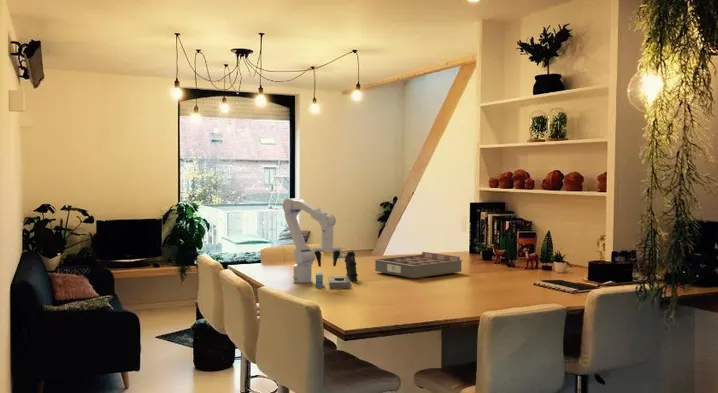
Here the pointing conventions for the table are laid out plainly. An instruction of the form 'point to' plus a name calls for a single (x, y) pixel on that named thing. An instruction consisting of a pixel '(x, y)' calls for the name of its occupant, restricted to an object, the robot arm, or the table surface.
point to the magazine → (351, 266)
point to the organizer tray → (419, 265)
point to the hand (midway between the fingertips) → (327, 266)
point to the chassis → (339, 282)
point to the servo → (319, 279)
